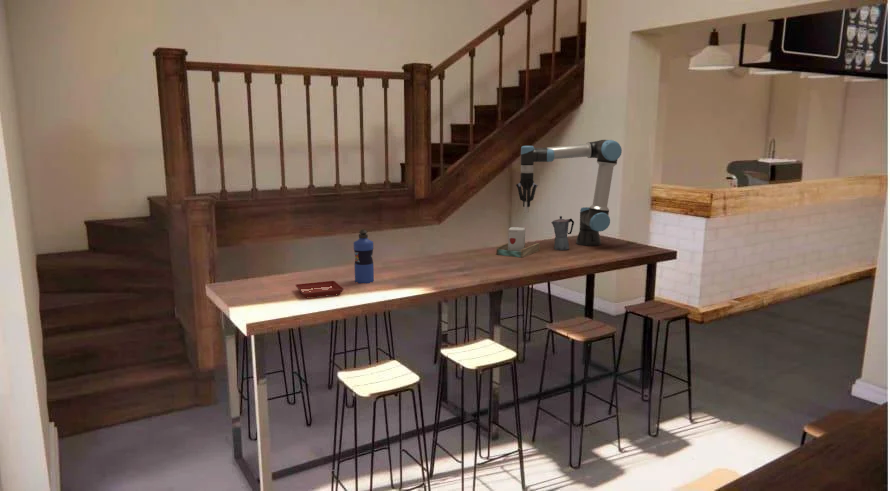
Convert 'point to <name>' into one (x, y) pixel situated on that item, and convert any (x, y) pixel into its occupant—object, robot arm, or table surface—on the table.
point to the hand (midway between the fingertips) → (526, 212)
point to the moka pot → (561, 233)
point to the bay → (524, 252)
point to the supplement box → (516, 239)
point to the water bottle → (363, 258)
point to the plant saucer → (319, 292)
